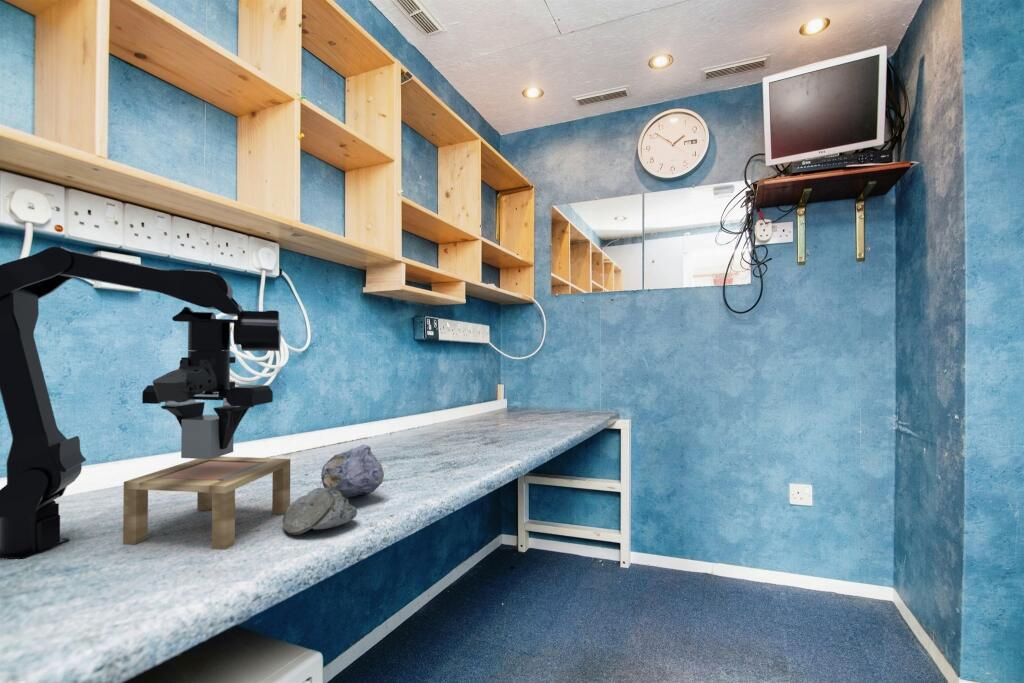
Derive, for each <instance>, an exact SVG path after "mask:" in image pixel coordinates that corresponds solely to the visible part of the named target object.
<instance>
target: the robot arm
mask: <svg viewBox="0 0 1024 683" xmlns="http://www.w3.org/2000/svg"><path fill="white" fill-rule="evenodd" d="M74 278H79V279H84V280H90V281H95V282H99V283H107V284H111V285H116V286H121V287H127V288H132V289H137V290H144V291H148V292H153V293H160V294H164V295H166V296H168V297H172V298H175V299H177V300H180V301H183V302H187V303H189V304H192V305H195V306H198V307H201V308H203V309H204V308H205V309H208V310H217V311H219V312H221V313H222V314H225V315H228V316H230V317H237V319H236V318H235V319H228V318H227V319H226V318H225V319H224V318H217V317H216V313H215V312H208V311H194V310H192V309H191V307H188V306H184V307H183V308H182V310H181V311H180V312H178V313H177V314H175V315H174V316H172V319H171V320H172V321H174V322H179V323H187V357H186V356H185V357H181V358H180V360H179V367H178V368H177V369H175V370H172V371H169V372H167V373H164V374H163V375H161V376H159V377H158V378H155V379H153V380H152V384H149V385H148V384H147V386H146V387H145V388H144V390H143V391H142V394H141V396H142V398H141V399H142V402H141V403H142V404H147V405H148V404H149V405H152V404H156V405H158V404H161V403H164V405H161V406H160V408H161V409H162V410H165V411H168V412H170V413H171V414H172V415H173V416H174V417H175V418H176V420H177V422H178V424H179V426H180V428H181V429H182V419H186V418H191V417H197V416H202V415H204V412H205V411H204V409H205V404H206V403H205V402H204V401H222V406H218V407H213V410H214V412H215V413H216V415H218V416H219V444H220V449H226V448H227V446H228V444H229V442H230V441H231V439H232V437H233V435H235V433H236V430H237V429H238V427H239V425H240V423H241V421H242V420H243V418H244V416H246V414H247V413H248V411H249V409H250V408H254V407H255V406H259V405H264V404H269V403H273V402H274V400H273V399H274V398H273V395H274V393H273V392H274V391H273V390H272V388H271V387H270V385H269V384H262V385H261V384H246V385H238V386H237V385H236V381H230V379H231V378H230V377H231V376H230V374H231V373H230V371H231V369H230V368H231V364H235V363H236V356H231V324H233V334H232V336H233V345H234V346H235V345H236V346H240V348H241V351H242V352H280V350H281V345H282V344H281V343H282V341H281V340H282V330H281V329H280V312H279V311H278V310H262V311H261V310H244V309H243V306H242V305H240V304H239V303H238V302H237V301H236V300H235V298H234V297H233V293H234V290H233V288H232V285H231V283H230V282H229V281H228V280H227V279H226V278H224V277H223V276H222V275H220V274H219V273H217V272H214V271H212V270H200V269H189V268H187V269H186V268H184V269H182V268H181V269H179V268H177V269H175V268H174V269H170V268H159V267H154V266H149V265H144V264H139V263H134V262H130V261H124V260H120V259H115V258H114V259H113V258H110V257H105V256H99V255H95V254H90V253H86V252H81V251H76V250H72V249H69V248H67V247H64V246H57V245H55V246H54V245H53V246H50V247H47V248H45V249H43V250H40V251H39V252H37V253H34V254H32V255H29V256H24V257H22V258H18V259H15V260H11V261H8V262H5V263H3V264H2V263H1V264H0V396H1V400H2V403H3V407H4V411H5V415H6V419H7V422H8V425H9V430H10V434H11V438H12V440H11V445H10V447H9V448H10V449H9V452H8V455H7V459H6V463H5V464H6V484H5V485H4V486H2V488H0V558H4V559H3V560H15V559H18V560H20V559H21V560H25V559H28V558H30V557H32V556H35V555H37V554H40V553H43V552H45V551H48V550H51V549H53V548H56V547H58V546H60V545H63V544H66V543H68V542H69V541H70V537H62V536H61V515H60V503H58V502H56V500H57V499H58V498H61V497H62V496H63V495H64V493H65V491H66V490H67V488H68V486H69V485H71V484H72V483H74V482H75V481H76V480H77V479H78V477H79V476H80V475H81V473H82V463H84V462H86V461H87V459H86V457H84V455H83V453H82V452H81V441H80V440H81V439H80V436H78V435H76V436H75V435H74V436H73V437H70V438H67V436H65V435H64V433H63V432H62V431H61V430H60V429H59V428H58V426H57V422H56V418H55V414H54V410H53V406H52V403H51V399H50V395H49V391H48V387H47V383H46V379H45V375H44V371H43V368H42V363H41V361H40V360H41V359H40V357H39V352H38V348H37V344H36V341H35V340H36V339H35V337H34V336H35V334H34V332H35V329H36V325H37V322H38V318H39V314H40V311H39V300H40V299H41V298H43V297H45V296H48V295H50V294H51V293H53V292H55V291H56V290H57V289H58V288H60V287H61V286H63V285H64V284H66V283H67V282H68V281H70V280H72V279H74ZM196 400H198V401H196ZM201 400H202V401H201ZM6 558H7V559H6Z"/></svg>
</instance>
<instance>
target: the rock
mask: <svg viewBox="0 0 1024 683" xmlns="http://www.w3.org/2000/svg"><path fill="white" fill-rule="evenodd" d="M320 476H321V482H322V486H323V488H328V487H331V488H334V489H336V490H338V491H339V492H341V494H342V495H341V496H345V497H348V498H353V497H356V496H361V495H370V494H371V493H373V492H375V491H376V490H377V489H378V488H379V486H381V484H383V481H384V476H385V472H384V469H383V465H382V464H381V463H380V462H379V461H378V458H377V457H376V456H375V455H374V454H373V451H372V450H371V446H369V445H365V444H362V445H359V446H357V447H355V448H351V449H349V450H348V451H345V452H341V453H337V454H334V455H333V456H332V457H331V458H330V459H329V460H328V461H327V462H326V463H325V464H324V465H323V466H322V469H321V472H320Z"/></svg>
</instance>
